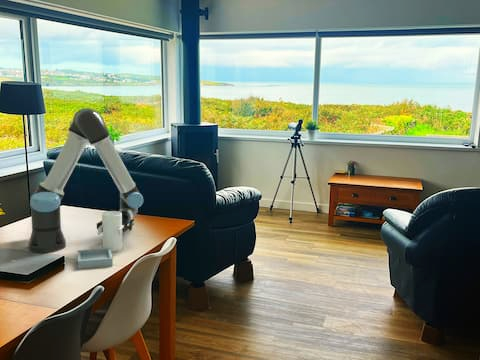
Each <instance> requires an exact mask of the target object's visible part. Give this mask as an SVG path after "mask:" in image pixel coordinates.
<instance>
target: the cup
mask: <svg viewBox="0 0 480 360" xmlns="http://www.w3.org/2000/svg"><path fill="white" fill-rule="evenodd" d="M101 219H102V220H101V221H102V229H103V232H102V248H110V249H111V253H113V252H118V251H121V250H122V249H123V233H122V234H121V235H119V228H120V227H121V226H122V213H121V212H119V210H118V211H117V210H109V211H104V212H103V213H101Z"/></svg>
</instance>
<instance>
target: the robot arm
mask: <svg viewBox="0 0 480 360" xmlns="http://www.w3.org/2000/svg"><path fill="white" fill-rule="evenodd" d="M67 132H68V137H67V138H66V141H65V142H64V145H63V146H62V149H61V150H60V152H59V154H58V156H56V159H55V162H54V163H53V165H52V167H51V169H50V170H49V172H48V175H47V176H46V178H45V180H44V181H43V182H39V184H38V186H37V188H36V190H35V191H33V193H32V195H31V196H30V198H29V199H30V200H29V206H30V213H31V214H30V216H31V234H30V237H29V240H28V243H27V244H28V250H29V251H30V250H31V252H33V251H37V252H36V253H50V252H56V251H60V250H62V249H65V248H66V246H67V245H66V244H67V242H66V238H65V236H64V233H63V230H62V226H61V225H62V221H61V201H62V200H63V198H64V195H65V192H64V188H65V187H66V184H67V182H68V181H69V178H70V177H71V174H73V171H74V169H75V167H76V165H77V164H78V161H79V159H81V156H82V155H83V152H84V150H85V148H86V146H87V145H88V144H90V146H93V147H94V148H95V150H96V153H97V154H98V156H99V157H100V159H101V160H102V162H103V164H104V166H105V168H106V170H107V171H108V173H109V175H110V176H111V177H112V180H113V183H114V184H115V185H116V187H117V189H118V191H119V199H120V200H119V210H118V211H119V212H121V213H122V226H121V227H120V228H119V235H121V234H122V235H123V233H124V232H127V231H132V230H133V226H134V225H135V219H134V218H136V216H137V214H138V212H139V211H138V209H139V208H140V207H141V206H142V205H143V203H144V197H143V195H142V194H141V193H140V191H139V188H138V187H137V185H136V182H135V181H134V180H133V178H132V177H131V175H130V173H129V170H128V169H127V167H126V165H125V164H124V162H123V160H122V158H121V157H120V155H119V153H118V151H117V149H116V147H115V145H114V144H113V142H112V140H111V133H110V131H109V130H108V127H107V125H106V122H105V120H104V118H103V116H102V115H101V114H100V112H99V111H96V110H94V109H92V108H87V107H86V108H81V109H78V110H77V111H76V112H75V113H74V115H73V118H72V122H71V124H70V126H69V127H68V129H67ZM96 229H97V235H99V236H100V235H101V234H103V229H102V220H101V221H99V222H97V223H96Z"/></svg>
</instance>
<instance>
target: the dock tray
mask: <svg viewBox="0 0 480 360" xmlns="http://www.w3.org/2000/svg"><path fill="white" fill-rule="evenodd" d="M113 264H114V263H113V255H112V252H111V249H110V248H103V247H102V248H91V249H80V250H77V269H90V268H101V267H113Z"/></svg>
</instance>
